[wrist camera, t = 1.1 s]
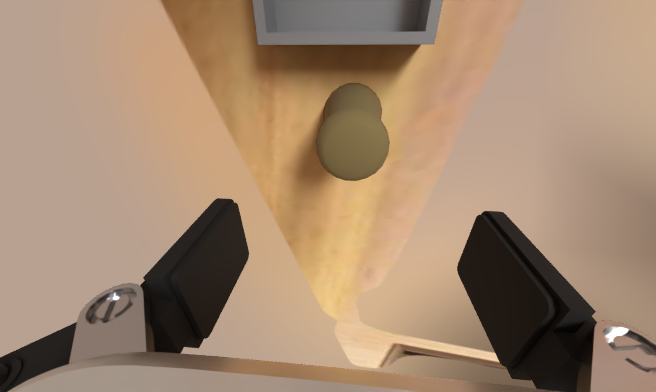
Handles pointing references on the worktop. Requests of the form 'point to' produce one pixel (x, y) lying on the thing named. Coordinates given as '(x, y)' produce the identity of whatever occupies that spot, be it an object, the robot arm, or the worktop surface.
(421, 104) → the worktop surface
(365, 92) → the cork
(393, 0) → the box
